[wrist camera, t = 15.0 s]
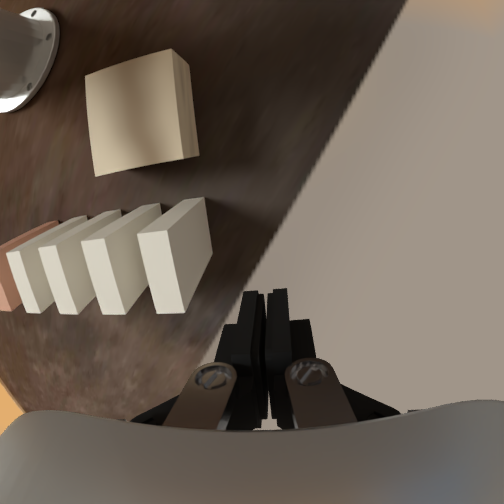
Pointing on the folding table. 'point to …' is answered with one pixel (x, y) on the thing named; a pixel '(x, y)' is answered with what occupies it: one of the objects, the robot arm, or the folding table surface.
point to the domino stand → (141, 113)
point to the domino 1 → (3, 284)
